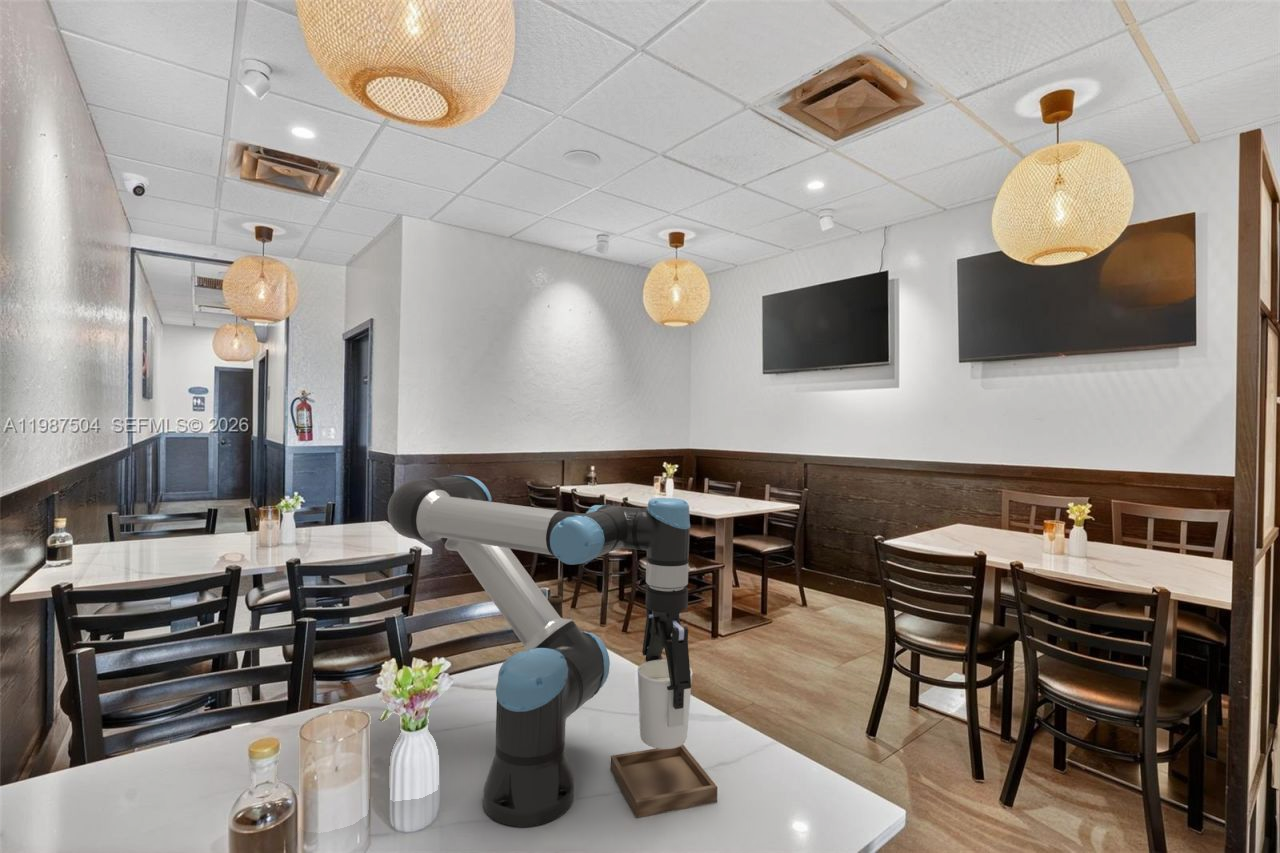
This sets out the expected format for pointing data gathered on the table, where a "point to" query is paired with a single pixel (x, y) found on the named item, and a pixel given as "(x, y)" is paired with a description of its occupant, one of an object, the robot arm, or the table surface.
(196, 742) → the table surface
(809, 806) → the table surface
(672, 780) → the tray
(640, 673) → the candle holder
